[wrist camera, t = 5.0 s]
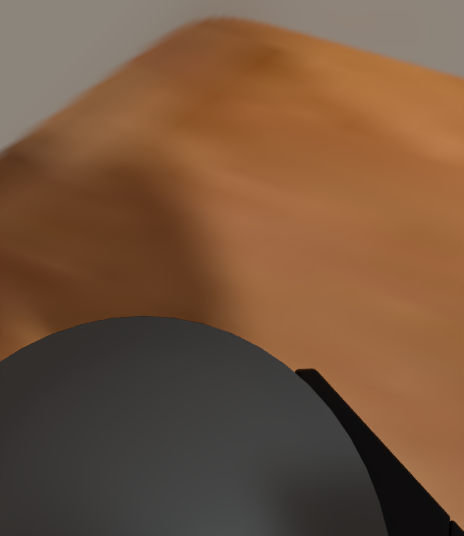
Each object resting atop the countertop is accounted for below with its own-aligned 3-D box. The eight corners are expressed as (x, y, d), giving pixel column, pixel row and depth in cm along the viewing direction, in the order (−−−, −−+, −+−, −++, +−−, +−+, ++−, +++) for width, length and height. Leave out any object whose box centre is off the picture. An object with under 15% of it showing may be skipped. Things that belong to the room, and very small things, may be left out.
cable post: (221, 515, 13) (230, 1117, 3) (104, 442, 14) (-280, 720, 3) (285, 389, 14) (473, 470, 4) (175, 324, 15) (64, 234, 4)
